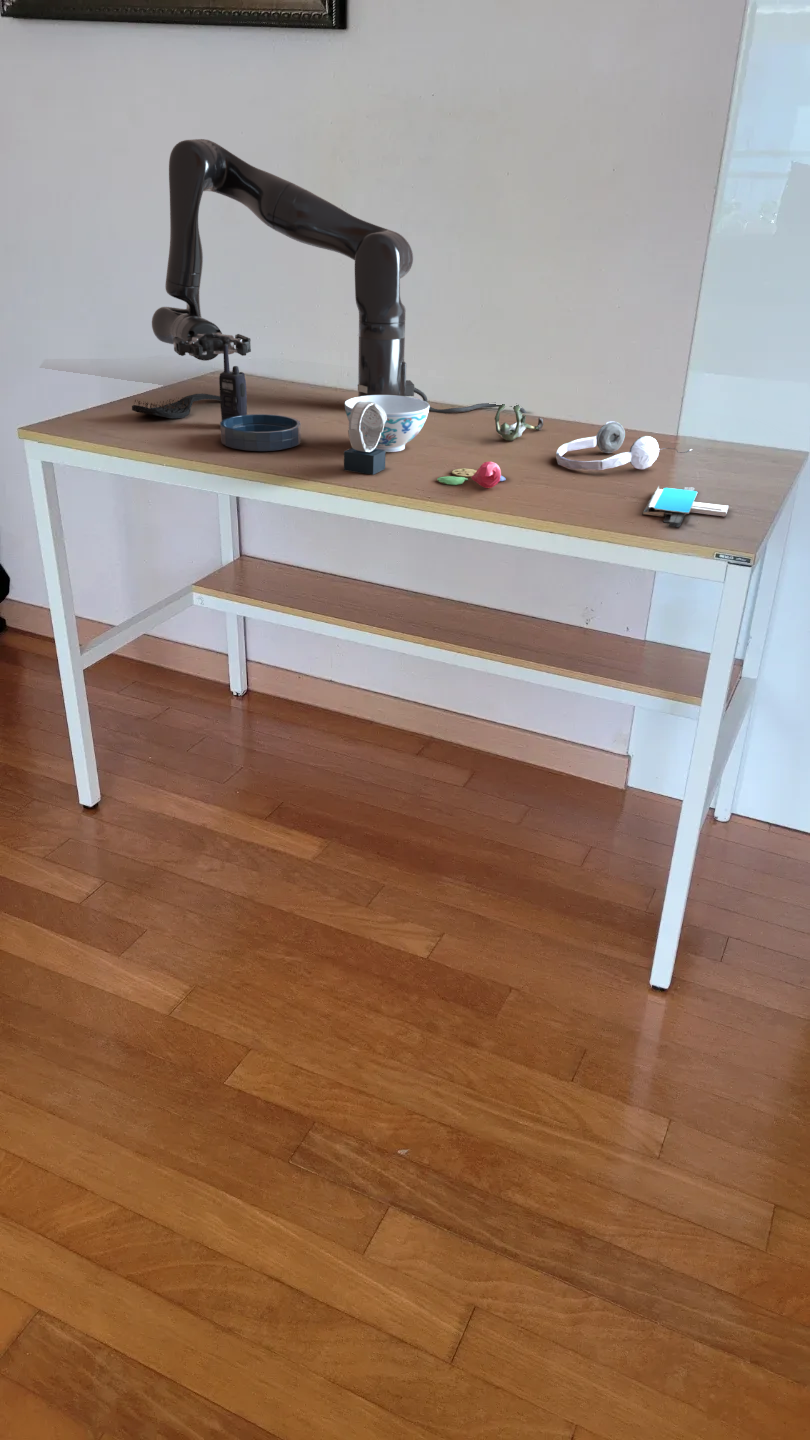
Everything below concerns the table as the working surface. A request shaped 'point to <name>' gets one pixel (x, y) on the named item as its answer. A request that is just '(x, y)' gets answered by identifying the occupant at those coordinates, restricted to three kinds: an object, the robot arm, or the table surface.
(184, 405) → the hairbrush
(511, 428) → the zombie figurine
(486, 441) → the table surface
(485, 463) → the toy pieces
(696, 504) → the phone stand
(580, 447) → the headphones
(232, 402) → the two-way radio
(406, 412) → the chinaware
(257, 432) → the bowl
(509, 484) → the table surface
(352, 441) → the watch
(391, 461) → the table surface
